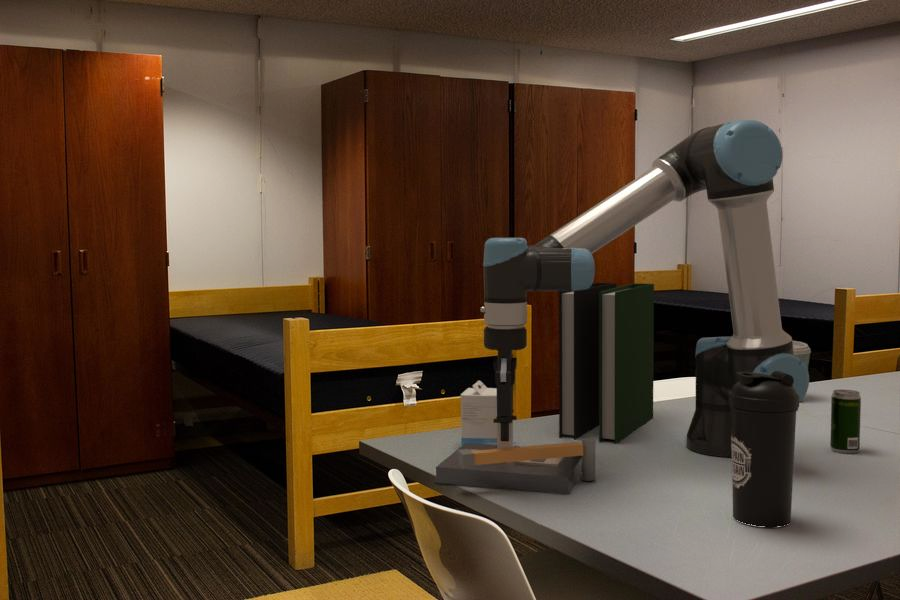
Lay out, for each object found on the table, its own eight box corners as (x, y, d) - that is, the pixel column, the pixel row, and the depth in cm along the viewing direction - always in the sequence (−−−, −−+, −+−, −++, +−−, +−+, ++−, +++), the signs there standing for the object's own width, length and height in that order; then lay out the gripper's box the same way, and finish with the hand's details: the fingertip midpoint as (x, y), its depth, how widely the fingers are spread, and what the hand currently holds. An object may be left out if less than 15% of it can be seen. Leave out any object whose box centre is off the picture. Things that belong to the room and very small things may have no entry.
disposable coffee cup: (817, 404, 218) (818, 345, 217) (774, 404, 218) (775, 345, 217) (800, 396, 229) (801, 339, 227) (759, 396, 229) (760, 340, 228)
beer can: (865, 452, 172) (867, 393, 171) (844, 455, 170) (846, 395, 169) (844, 446, 177) (846, 388, 176) (824, 448, 175) (825, 390, 174)
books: (619, 444, 181) (619, 292, 178) (553, 437, 188) (552, 290, 185) (653, 418, 205) (653, 283, 202) (593, 412, 212) (593, 282, 209)
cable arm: (591, 475, 158) (591, 437, 157) (598, 480, 155) (598, 441, 154) (458, 488, 151) (457, 448, 151) (463, 494, 148) (462, 452, 147)
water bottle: (716, 509, 139) (718, 368, 137) (778, 507, 140) (780, 366, 138) (743, 531, 129) (745, 379, 127) (809, 528, 130) (812, 377, 128)
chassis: (585, 466, 165) (585, 448, 165) (568, 494, 148) (568, 474, 148) (465, 457, 173) (465, 440, 172) (436, 483, 156) (435, 464, 155)
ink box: (501, 451, 177) (500, 387, 176) (460, 450, 178) (460, 386, 177) (506, 441, 185) (506, 379, 184) (468, 440, 187) (467, 378, 186)
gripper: (486, 321, 158) (486, 447, 161) (480, 330, 145) (480, 467, 148) (527, 321, 157) (527, 448, 160) (525, 330, 145) (525, 468, 147)
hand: (505, 457), depth 154 cm, fingers closed
